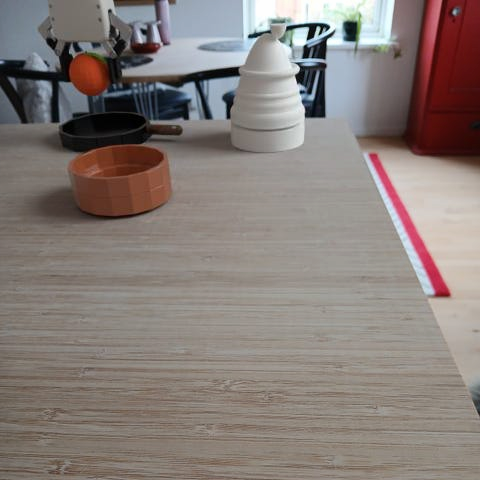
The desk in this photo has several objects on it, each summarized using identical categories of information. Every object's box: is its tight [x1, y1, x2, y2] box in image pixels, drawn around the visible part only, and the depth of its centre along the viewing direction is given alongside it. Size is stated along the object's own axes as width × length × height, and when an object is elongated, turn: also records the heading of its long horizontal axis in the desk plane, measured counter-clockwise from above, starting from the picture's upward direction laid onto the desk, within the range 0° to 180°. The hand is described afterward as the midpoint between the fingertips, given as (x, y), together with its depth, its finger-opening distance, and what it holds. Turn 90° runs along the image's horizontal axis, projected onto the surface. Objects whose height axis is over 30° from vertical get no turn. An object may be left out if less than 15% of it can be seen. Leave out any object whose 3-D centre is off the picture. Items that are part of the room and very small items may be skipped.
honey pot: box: [229, 22, 306, 153], centre depth 85 cm, size 13×13×18 cm
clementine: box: [69, 50, 111, 97], centre depth 89 cm, size 8×7×7 cm
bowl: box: [66, 144, 173, 217], centre depth 71 cm, size 13×13×6 cm
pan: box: [58, 111, 184, 153], centre depth 94 cm, size 23×16×3 cm
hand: (93, 80), depth 90 cm, fingers closed on clementine, 8 cm apart
